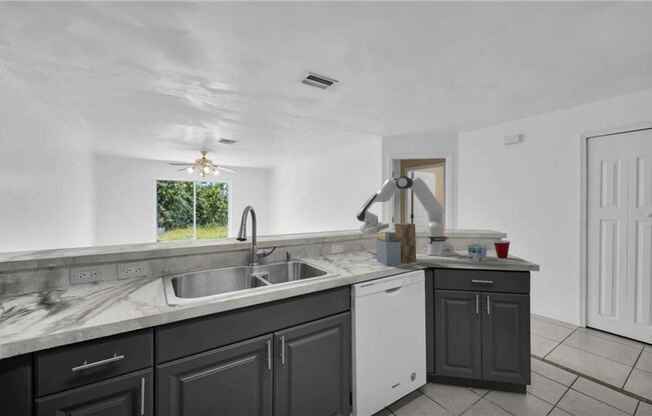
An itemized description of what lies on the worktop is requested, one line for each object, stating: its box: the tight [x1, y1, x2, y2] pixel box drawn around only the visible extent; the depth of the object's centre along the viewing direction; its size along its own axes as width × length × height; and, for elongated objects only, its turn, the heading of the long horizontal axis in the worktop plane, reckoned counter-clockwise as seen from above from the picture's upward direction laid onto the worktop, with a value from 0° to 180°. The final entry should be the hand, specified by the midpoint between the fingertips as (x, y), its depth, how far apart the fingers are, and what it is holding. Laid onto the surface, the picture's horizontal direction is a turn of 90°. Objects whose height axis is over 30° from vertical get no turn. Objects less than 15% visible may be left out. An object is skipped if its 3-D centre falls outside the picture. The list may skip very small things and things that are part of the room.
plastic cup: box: [492, 239, 511, 259], centre depth 200 cm, size 11×11×12 cm
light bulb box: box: [467, 243, 488, 263], centre depth 194 cm, size 11×7×11 cm, turn 117°
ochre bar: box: [378, 231, 396, 242], centre depth 197 cm, size 5×20×6 cm, turn 11°
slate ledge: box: [375, 237, 402, 266], centre depth 195 cm, size 10×18×16 cm, turn 11°
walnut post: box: [394, 222, 417, 264], centre depth 198 cm, size 10×10×26 cm
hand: (382, 228), depth 215 cm, fingers open, 8 cm apart
